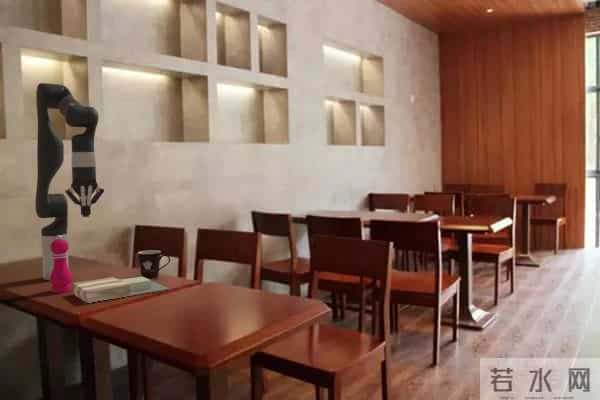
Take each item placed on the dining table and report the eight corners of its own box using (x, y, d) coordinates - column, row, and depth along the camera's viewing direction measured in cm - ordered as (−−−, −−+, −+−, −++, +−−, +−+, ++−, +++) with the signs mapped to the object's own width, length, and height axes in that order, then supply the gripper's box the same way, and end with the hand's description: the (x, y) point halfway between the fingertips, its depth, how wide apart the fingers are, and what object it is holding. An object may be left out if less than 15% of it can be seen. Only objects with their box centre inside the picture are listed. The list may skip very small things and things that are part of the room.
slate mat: (114, 288, 195) (114, 286, 195) (151, 282, 204) (151, 280, 204) (130, 296, 183) (130, 295, 183) (169, 290, 191) (169, 288, 191)
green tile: (118, 288, 192) (117, 280, 192) (142, 284, 198) (142, 276, 198) (126, 292, 186) (125, 284, 186) (151, 288, 191) (151, 280, 191)
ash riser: (73, 294, 187) (73, 282, 187) (114, 288, 195) (113, 277, 195) (87, 303, 174) (86, 291, 174) (130, 296, 183) (129, 285, 182)
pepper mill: (64, 293, 188) (61, 236, 186) (45, 293, 189) (43, 236, 188) (76, 288, 195) (74, 233, 193) (58, 288, 196) (56, 233, 195)
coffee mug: (133, 278, 211) (133, 253, 210) (148, 274, 219) (147, 249, 218) (158, 280, 207) (157, 254, 206) (172, 276, 214) (171, 251, 214)
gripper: (100, 165, 190) (102, 214, 191) (60, 166, 182) (62, 217, 183) (107, 165, 184) (109, 216, 185) (66, 166, 176) (68, 219, 177)
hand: (85, 216), depth 184 cm, fingers closed
